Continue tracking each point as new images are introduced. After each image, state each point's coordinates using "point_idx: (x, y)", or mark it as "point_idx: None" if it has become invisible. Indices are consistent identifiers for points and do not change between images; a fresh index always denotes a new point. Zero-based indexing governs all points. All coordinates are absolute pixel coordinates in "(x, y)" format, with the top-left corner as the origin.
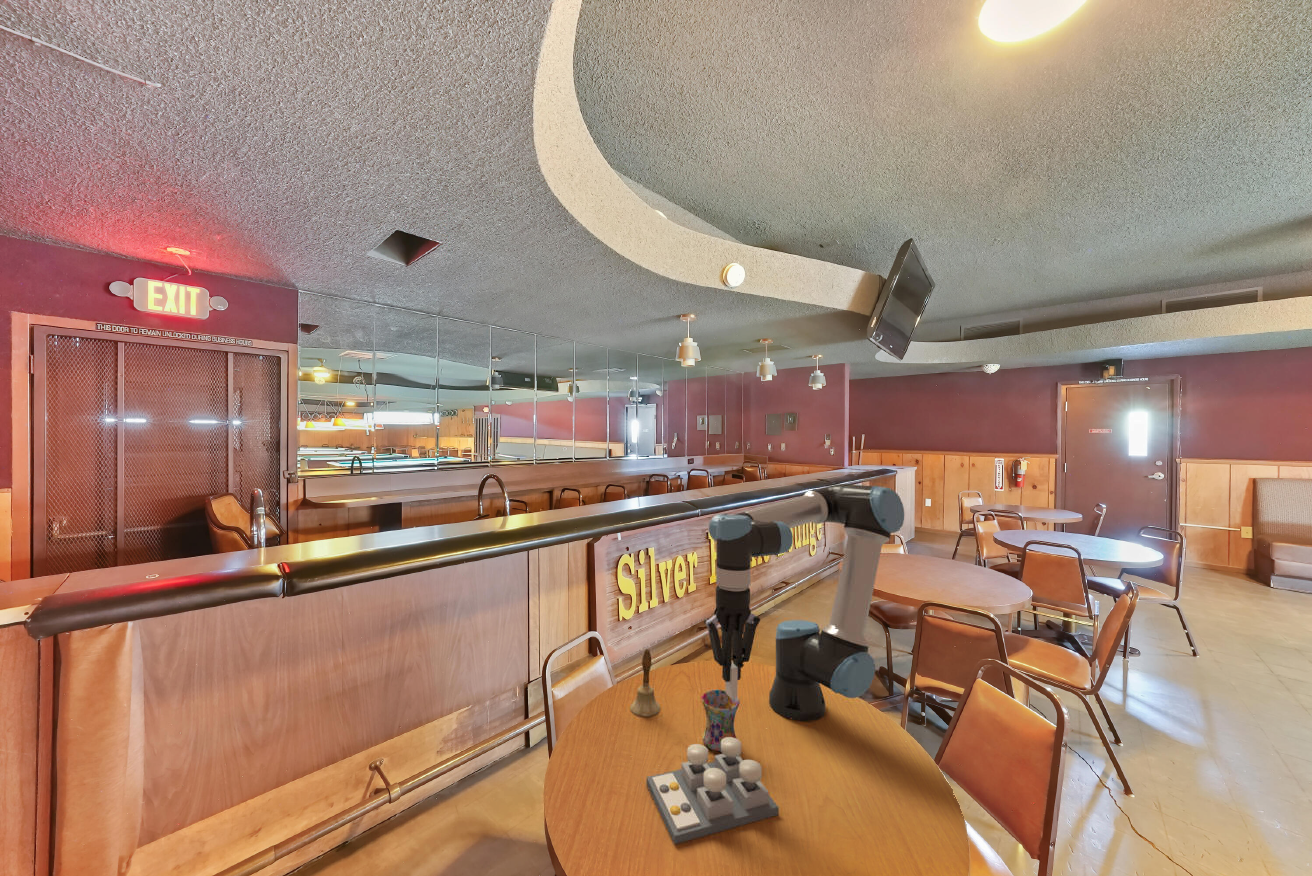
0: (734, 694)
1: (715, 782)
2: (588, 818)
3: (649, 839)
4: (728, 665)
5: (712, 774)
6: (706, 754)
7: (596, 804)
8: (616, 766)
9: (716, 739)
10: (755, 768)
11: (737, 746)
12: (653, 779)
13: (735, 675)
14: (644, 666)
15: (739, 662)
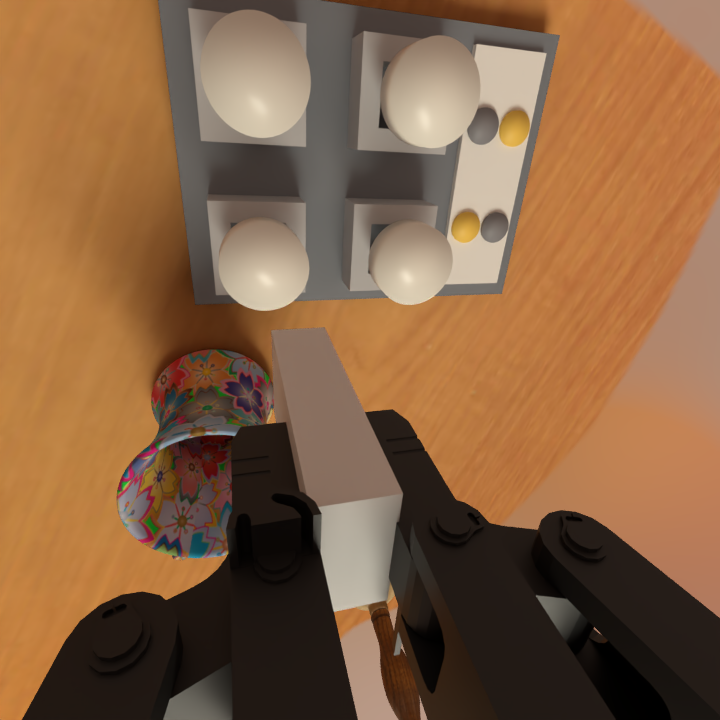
0: (301, 340)
1: (458, 48)
2: (650, 221)
3: (583, 92)
4: (468, 517)
5: (442, 104)
6: (397, 234)
7: (615, 258)
8: (519, 365)
9: (247, 381)
10: (238, 53)
11: (247, 239)
12: (497, 274)
13: (324, 433)
14: (407, 662)
15: (287, 570)
